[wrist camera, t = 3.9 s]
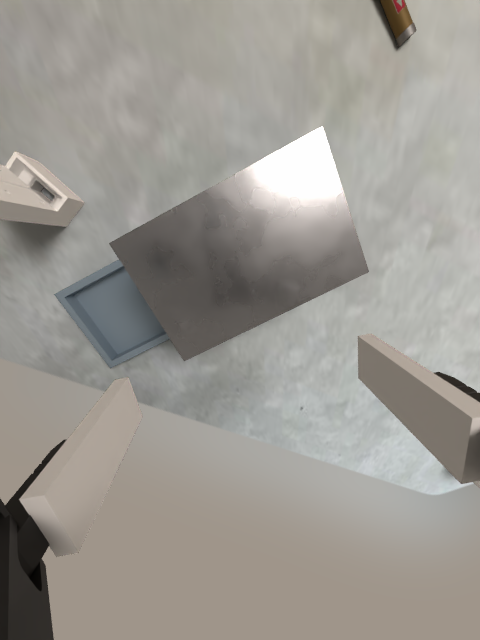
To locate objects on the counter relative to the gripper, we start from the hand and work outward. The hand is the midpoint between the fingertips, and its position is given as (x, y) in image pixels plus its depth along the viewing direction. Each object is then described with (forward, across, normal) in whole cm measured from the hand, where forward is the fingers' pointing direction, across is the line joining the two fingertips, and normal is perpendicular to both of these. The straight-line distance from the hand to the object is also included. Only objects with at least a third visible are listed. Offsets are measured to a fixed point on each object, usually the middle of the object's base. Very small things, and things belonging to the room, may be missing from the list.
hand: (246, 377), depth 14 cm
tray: (+19, -14, +1) cm, 24 cm away
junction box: (+19, +1, +6) cm, 20 cm away
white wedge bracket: (+20, -18, +16) cm, 31 cm away
